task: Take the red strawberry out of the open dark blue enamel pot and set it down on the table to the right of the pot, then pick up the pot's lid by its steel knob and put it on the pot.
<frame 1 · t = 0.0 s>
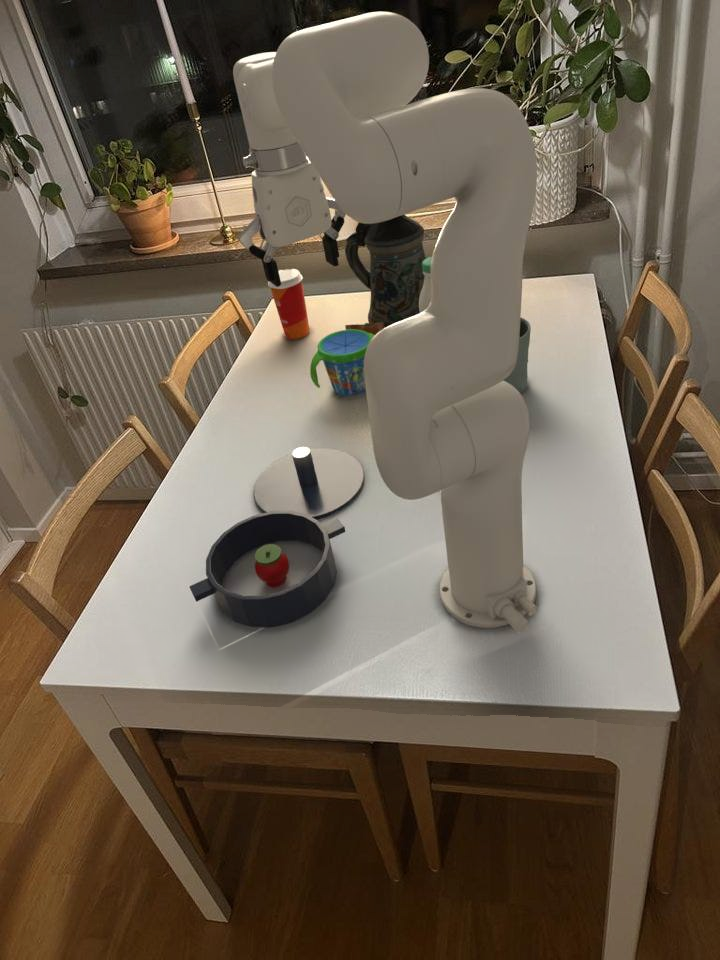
hand: (304, 273, 112), 31 cm above the table, tool pointing down, fingers open, 9 cm apart
pot: (277, 582, 106), on the table
lid: (309, 484, 121), point 1 cm above the table
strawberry: (276, 579, 105), resting on pot
paper cup: (297, 334, 167), on the table
beer stein: (400, 327, 162), on the table
snack cup: (353, 388, 145), on the table
grey-green cup: (503, 387, 137), on the table
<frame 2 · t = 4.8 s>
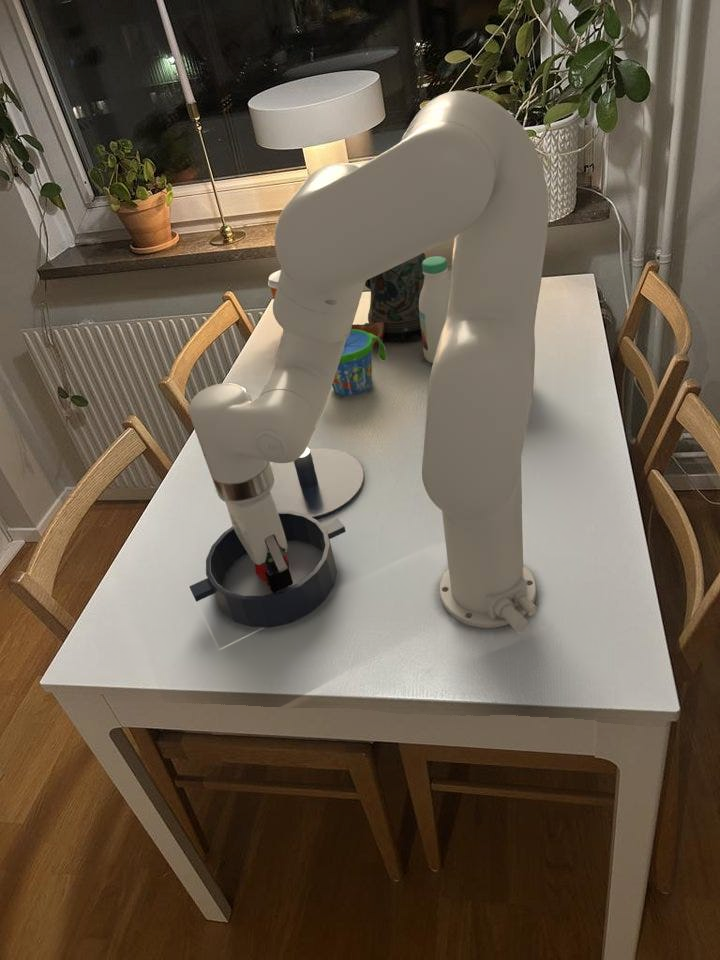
hand: (274, 575, 105), 1 cm above the table, tool pointing down, fingers closed on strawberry, 4 cm apart
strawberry: (276, 579, 105), point 1 cm above the table, touching gripper, pot
everything else where it was.
when the fingers open (1 cm above the table, at t = 12.4 s): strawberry stays where it is, on the table.
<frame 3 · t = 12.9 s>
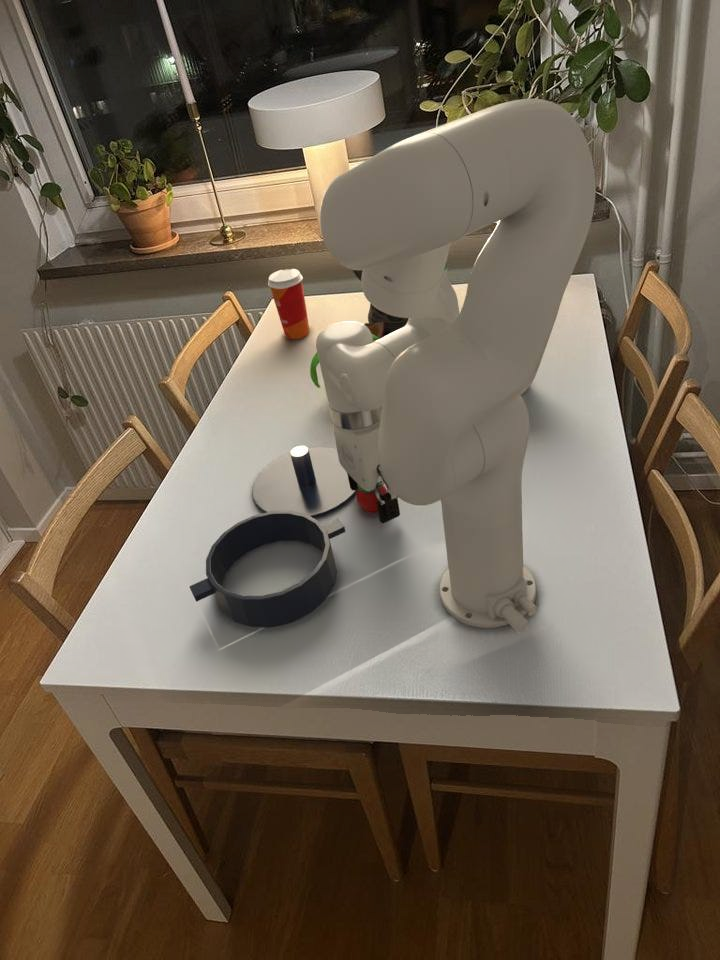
hand: (374, 502, 114), 2 cm above the table, tool pointing down, fingers open, 9 cm apart
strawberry: (374, 509, 115), on the table
everything else where it was.
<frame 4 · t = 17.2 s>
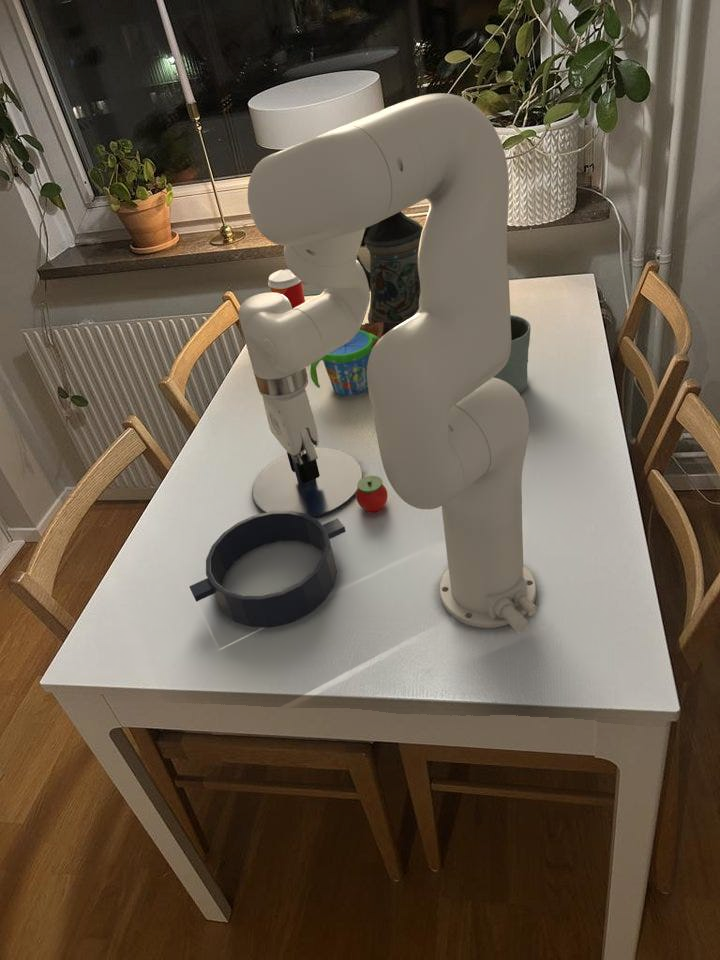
hand: (305, 473, 120), 3 cm above the table, tool pointing down, fingers closed on lid, 3 cm apart
lid: (307, 483, 122), point 1 cm above the table, touching gripper
everything else where it was.
when the fingers open (8 cm above the table, at t = 23.1 s): lid stays where it is, resting on pot.
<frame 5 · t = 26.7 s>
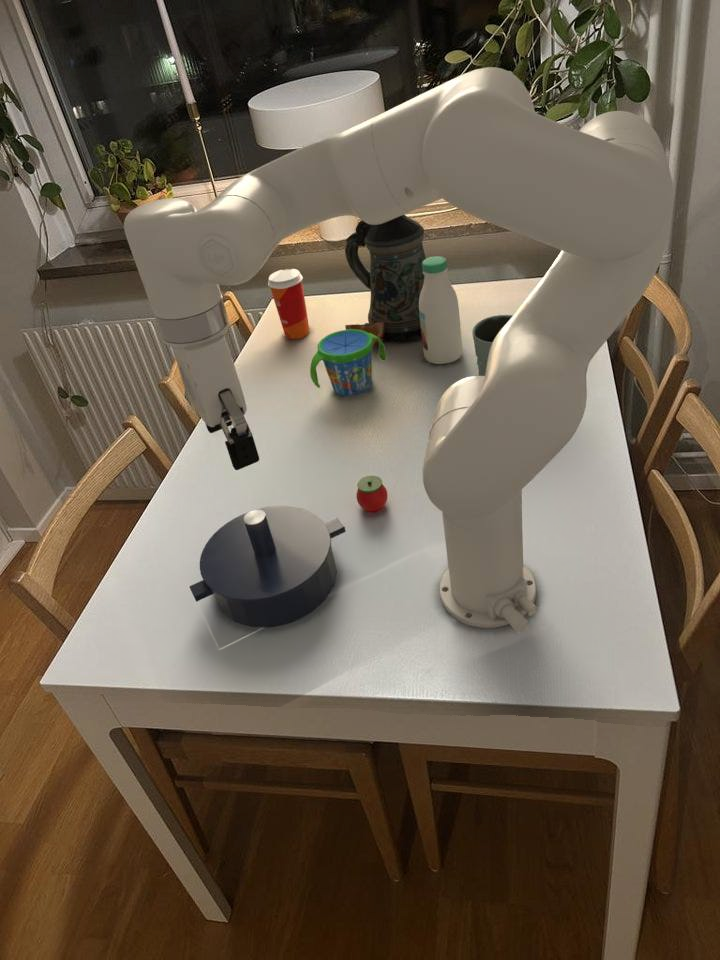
hand: (233, 445, 91), 24 cm above the table, tool pointing down, fingers open, 9 cm apart
lid: (265, 552, 102), point 6 cm above the table, touching pot
everything else where it was.
at the end: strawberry inside the target area (0.3 cm from its centre), on the table; lid 0.2 cm off-centre on the pot, point 6.0 cm above the pot's base; lid tilted 0° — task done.
